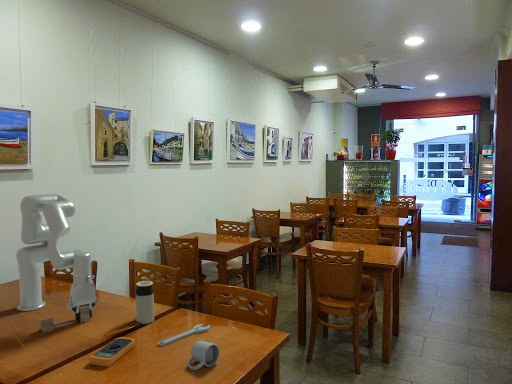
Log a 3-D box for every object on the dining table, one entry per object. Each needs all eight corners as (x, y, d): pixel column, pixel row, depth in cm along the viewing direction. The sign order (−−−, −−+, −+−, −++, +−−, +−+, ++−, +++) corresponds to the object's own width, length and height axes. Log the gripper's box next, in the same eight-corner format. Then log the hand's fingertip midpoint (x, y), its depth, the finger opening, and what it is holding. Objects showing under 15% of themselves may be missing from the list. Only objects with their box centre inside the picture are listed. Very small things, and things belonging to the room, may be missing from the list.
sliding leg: (77, 320, 176) (77, 304, 176) (86, 318, 179) (86, 302, 179) (81, 323, 173) (80, 307, 172) (90, 321, 176) (90, 305, 175)
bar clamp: (40, 329, 167) (39, 318, 167) (91, 316, 182) (91, 306, 182) (43, 333, 163) (43, 322, 162) (96, 320, 178) (96, 309, 177)
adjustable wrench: (160, 348, 152) (160, 344, 152) (152, 343, 157) (152, 339, 157) (212, 330, 169) (212, 326, 169) (203, 326, 174) (203, 322, 174)
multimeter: (137, 346, 154) (137, 338, 154) (108, 368, 136) (108, 359, 136) (118, 343, 156) (118, 335, 156) (88, 365, 139) (88, 356, 139)
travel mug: (157, 319, 181) (157, 281, 180) (146, 325, 173) (145, 286, 172) (144, 316, 184) (143, 279, 183) (132, 322, 177) (131, 284, 176)
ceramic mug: (204, 355, 145) (203, 335, 145) (220, 361, 140) (219, 341, 140) (182, 367, 137) (182, 346, 137) (199, 374, 132) (198, 352, 132)
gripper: (98, 274, 184) (99, 312, 185) (60, 281, 172) (61, 321, 173) (104, 277, 178) (105, 316, 179) (65, 285, 167) (66, 326, 168)
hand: (83, 318), depth 176 cm, fingers closed on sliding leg, 4 cm apart
